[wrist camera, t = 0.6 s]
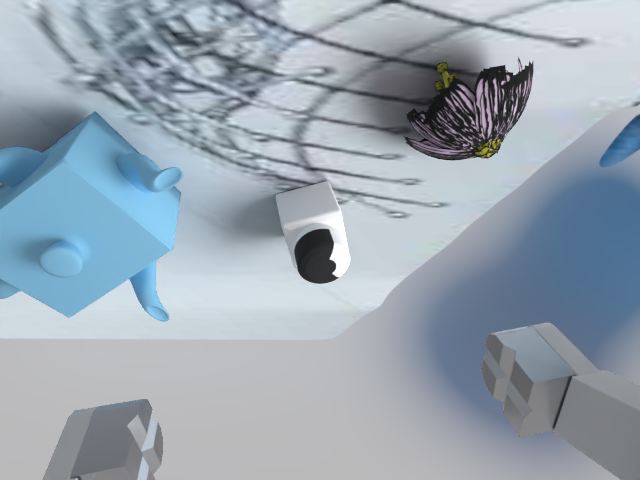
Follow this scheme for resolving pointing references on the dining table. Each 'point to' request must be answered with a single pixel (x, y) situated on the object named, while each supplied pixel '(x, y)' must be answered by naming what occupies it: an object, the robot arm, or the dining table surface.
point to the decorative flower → (471, 113)
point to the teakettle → (85, 219)
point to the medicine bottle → (314, 232)
